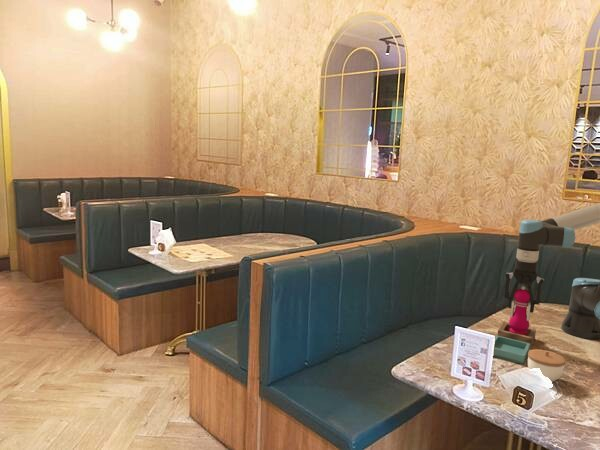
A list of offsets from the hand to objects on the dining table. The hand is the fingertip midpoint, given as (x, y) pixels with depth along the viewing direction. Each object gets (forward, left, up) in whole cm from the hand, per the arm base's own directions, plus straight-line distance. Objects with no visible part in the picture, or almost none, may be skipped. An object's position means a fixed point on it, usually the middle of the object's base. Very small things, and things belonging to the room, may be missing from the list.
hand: (519, 318), depth 183 cm
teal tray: (0, +16, -9) cm, 18 cm away
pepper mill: (0, 0, -7) cm, 7 cm away
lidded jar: (-13, +30, -9) cm, 34 cm away
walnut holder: (0, 0, -9) cm, 9 cm away
